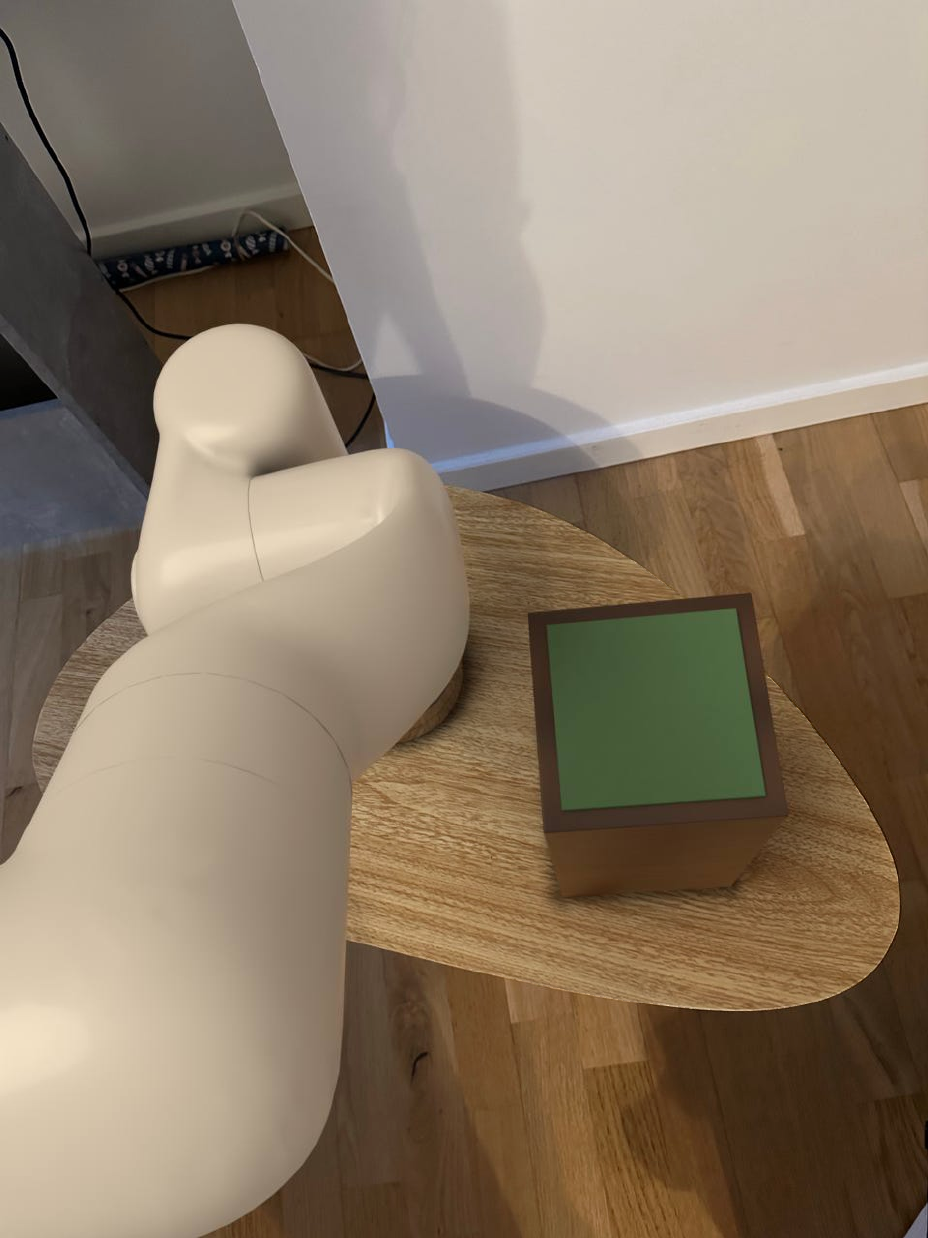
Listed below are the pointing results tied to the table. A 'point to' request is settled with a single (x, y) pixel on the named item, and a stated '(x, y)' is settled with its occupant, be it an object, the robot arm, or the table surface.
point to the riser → (668, 833)
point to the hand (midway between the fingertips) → (366, 629)
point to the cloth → (653, 711)
